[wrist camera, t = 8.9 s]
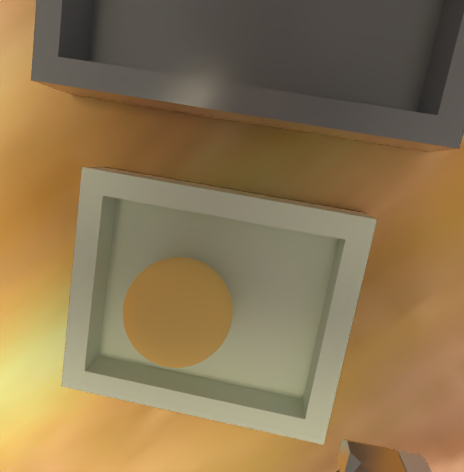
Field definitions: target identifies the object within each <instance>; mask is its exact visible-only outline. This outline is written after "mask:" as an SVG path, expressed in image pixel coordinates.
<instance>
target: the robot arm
mask: <svg viewBox="0 0 464 472" xmlns="http://www.w3.org/2000/svg"><path fill="white" fill-rule="evenodd" d="M337 458H338V463H339V470H338V471H337V472H431V470H430V468H429V466H428V464H427V462H426V460H425V458H424V457H423V456H422V455H421V454H420V453H416V452H411V451H405V450H400V449H390V448H385V447H380V446H376V445H371V444H366V443H361V442H356V441H351V440H346V439H343V440H342V442H341V444H340V447H339V451H338V454H337Z"/></svg>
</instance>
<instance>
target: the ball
mask: <svg viewBox="0 0 464 472" xmlns="http://www.w3.org/2000/svg"><path fill="white" fill-rule="evenodd" d="M232 316H233V306H232V299H231V295H230V292H229V290H228V288H227V286H226V284H225V282H224V281H223V279H222V278H221V276H220V275H219V274H218V273H217V272H216V271H215V270H214V269H212V268H211V267H210V266H208V265H207V264H205V263H203V262H201V261H198V260H196V259H192V258H187V257H171V258H167V259H163V260H160V261H157V262H155V263H153V264H151V265H150V266H148V267H147V268H145V269H144V270H143V271H142V272H141V273H140V274H139V275H138V276H137V277H136V278H135V279H134V280H133V282H132V284H131V285H130V287H129V289H128V291H127V293H126V296H125V300H124V304H123V323H124V328H125V331H126V334H127V336H128V338H129V340H130V342H131V344H132V345H133V347H134V348H135V349H136V350H137V351H138V352H139V353H140V354H141V355H142V356H143V357H145V358H146V359H147V360H149V361H151V362H153V363H155V364H157V365H160V366H164V367H170V368H183V367H188V366H193V365H195V364H198V363H200V362H202V361H204V360H205V359H207V358H208V357H210V356H211V355H213V354H214V353H215V352H216V351H217V350H218V349H219V348H220V346H221V345H222V344H223V342H224V340H225V339H226V337H227V335H228V332H229V330H230V327H231V323H232Z"/></svg>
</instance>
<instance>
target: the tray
mask: <svg viewBox="0 0 464 472" xmlns="http://www.w3.org/2000/svg"><path fill="white" fill-rule="evenodd" d="M376 222H377V219H375V218H373V217H371V216H369V215H368V214H366V213H362V212H357V211H351V210H345V209H340V208H334V207H328V206H323V205H317V204H311V203H306V202H300V201H294V200H289V199H283V198H277V197H272V196H266V195H260V194H254V193H249V192H243V191H237V190H232V189H226V188H220V187H215V186H209V185H203V184H198V183H192V182H186V181H181V180H175V179H169V178H163V177H158V176H152V175H146V174H141V173H135V172H129V171H124V170H118V169H112V168H107V167H82V173H81V184H80V194H79V205H78V216H77V226H76V237H75V247H74V258H73V269H72V279H71V290H70V300H69V311H68V321H67V332H66V343H65V353H64V364H63V374H62V385H61V386H62V387H67V388H71V389H76V390H80V391H85V392H89V393H93V394H98V395H102V396H107V397H111V398H116V399H120V400H125V401H129V402H134V403H138V404H143V405H147V406H152V407H156V408H161V409H165V410H170V411H174V412H179V413H183V414H188V415H192V416H197V417H201V418H206V419H210V420H215V421H219V422H224V423H228V424H233V425H237V426H242V427H246V428H251V429H255V430H259V431H264V432H268V433H273V434H277V435H282V436H286V437H291V438H295V439H300V440H304V441H309V442H313V443H318V444H322V445H324V441H325V436H326V432H327V428H328V424H329V420H330V415H331V411H332V407H333V403H334V399H335V394H336V390H337V386H338V382H339V378H340V373H341V369H342V365H343V361H344V357H345V352H346V348H347V344H348V340H349V336H350V331H351V327H352V323H353V319H354V315H355V310H356V306H357V302H358V298H359V293H360V289H361V285H362V281H363V277H364V272H365V268H366V264H367V260H368V256H369V251H370V247H371V243H372V239H373V235H374V230H375V226H376ZM171 257H187V258H192V259H196V260H198V261H201V262H203V263H205V264H207V265H208V266H210V267H211V268H212V269H214V270H215V271H216V272H217V273H218V274H219V275H220V276H221V278H222V279H223V281H224V282H225V284H226V286H227V288H228V290H229V292H230V295H231V299H232V306H233V316H232V323H231V327H230V330H229V332H228V335H227V337H226V339H225V340H224V342H223V344H222V345H221V346H220V348H219V349H218V350H217V351H216V352H215V353H214V354H213V355H211V356H210V357H208V358H207V359H205V360H204V361H202V362H200V363H198V364H195V365H193V366H188V367H183V368H170V367H164V366H160V365H157V364H155V363H153V362H151V361H149V360H147V359H146V358H145V357H143V356H142V355H141V354H140V353H139V352H138V351H137V350H136V349H135V348H134V347H133V345H132V344H131V342H130V340H129V338H128V336H127V334H126V331H125V328H124V323H123V304H124V300H125V296H126V293H127V291H128V289H129V287H130V285H131V284H132V282H133V280H134V279H135V278H136V277H137V276H138V275H139V274H140V273H141V272H142V271H143V270H144V269H145V268H147V267H148V266H150V265H151V264H153V263H155V262H157V261H160V260H163V259H167V258H171Z"/></svg>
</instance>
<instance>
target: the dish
mask: <svg viewBox="0 0 464 472" xmlns="http://www.w3.org/2000/svg"><path fill="white" fill-rule="evenodd" d="M31 80H32V81H35V82H38V83H40V84H43V85H46V86H49V87H52V88H55V89H57V90H60V91H63V92H66V93H69V94H72V95H78V96H85V97H91V98H97V99H103V100H109V101H115V102H122V103H128V104H134V105H140V106H146V107H152V108H159V109H165V110H171V111H177V112H183V113H190V114H196V115H202V116H208V117H214V118H220V119H227V120H233V121H239V122H245V123H251V124H257V125H264V126H270V127H276V128H282V129H288V130H294V131H301V132H307V133H313V134H319V135H325V136H332V137H338V138H344V139H350V140H356V141H362V142H369V143H375V144H381V145H387V146H393V147H399V148H406V149H412V150H418V151H424V152H433V151H443V150H453V149H459V148H460V144H461V140H462V137H463V133H464V0H36V15H35V30H34V44H33V59H32V74H31Z"/></svg>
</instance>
